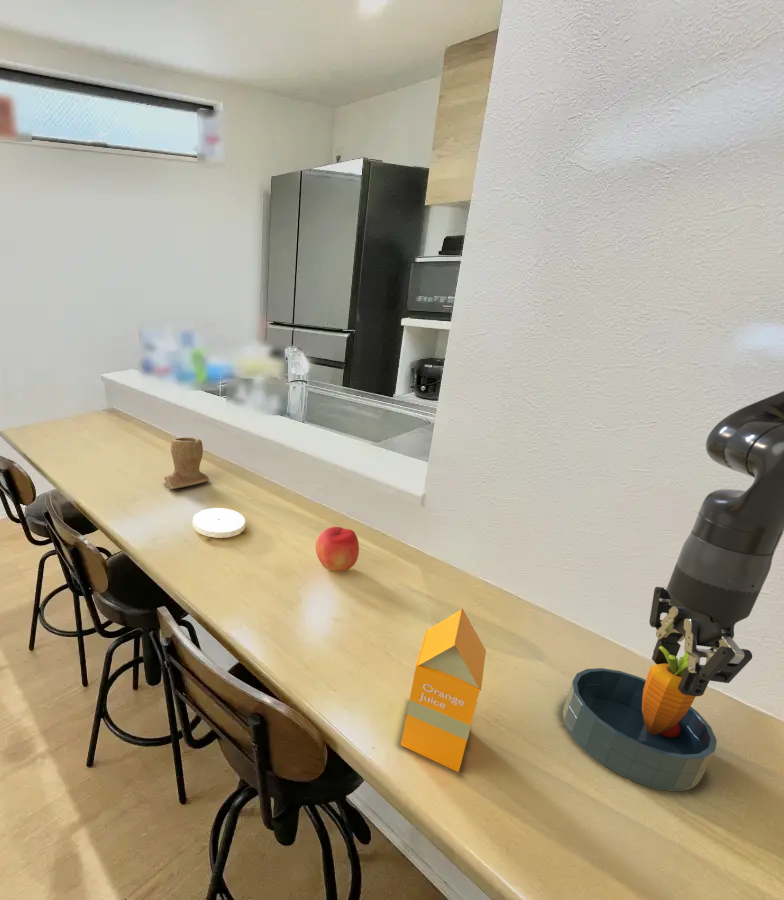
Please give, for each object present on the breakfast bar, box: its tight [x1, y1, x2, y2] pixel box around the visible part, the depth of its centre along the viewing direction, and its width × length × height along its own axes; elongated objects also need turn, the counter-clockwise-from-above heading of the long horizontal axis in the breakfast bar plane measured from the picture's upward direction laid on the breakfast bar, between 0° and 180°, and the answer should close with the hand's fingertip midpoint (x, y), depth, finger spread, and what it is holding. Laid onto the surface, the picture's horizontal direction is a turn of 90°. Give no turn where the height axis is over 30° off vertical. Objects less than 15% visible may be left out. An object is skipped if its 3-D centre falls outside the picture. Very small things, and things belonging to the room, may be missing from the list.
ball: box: [659, 723, 681, 738], centre depth 72 cm, size 3×3×3 cm
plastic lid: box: [192, 507, 246, 539], centre depth 132 cm, size 14×14×2 cm
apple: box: [315, 526, 360, 573], centre depth 112 cm, size 10×10×10 cm
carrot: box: [642, 646, 697, 735], centre depth 69 cm, size 5×5×15 cm
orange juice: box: [400, 607, 487, 773], centre depth 69 cm, size 8×9×20 cm
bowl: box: [562, 667, 718, 792], centre depth 71 cm, size 15×15×6 cm
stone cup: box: [163, 436, 210, 490], centre depth 159 cm, size 15×12×15 cm
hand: (674, 677), depth 68 cm, fingers closed on carrot, 5 cm apart
